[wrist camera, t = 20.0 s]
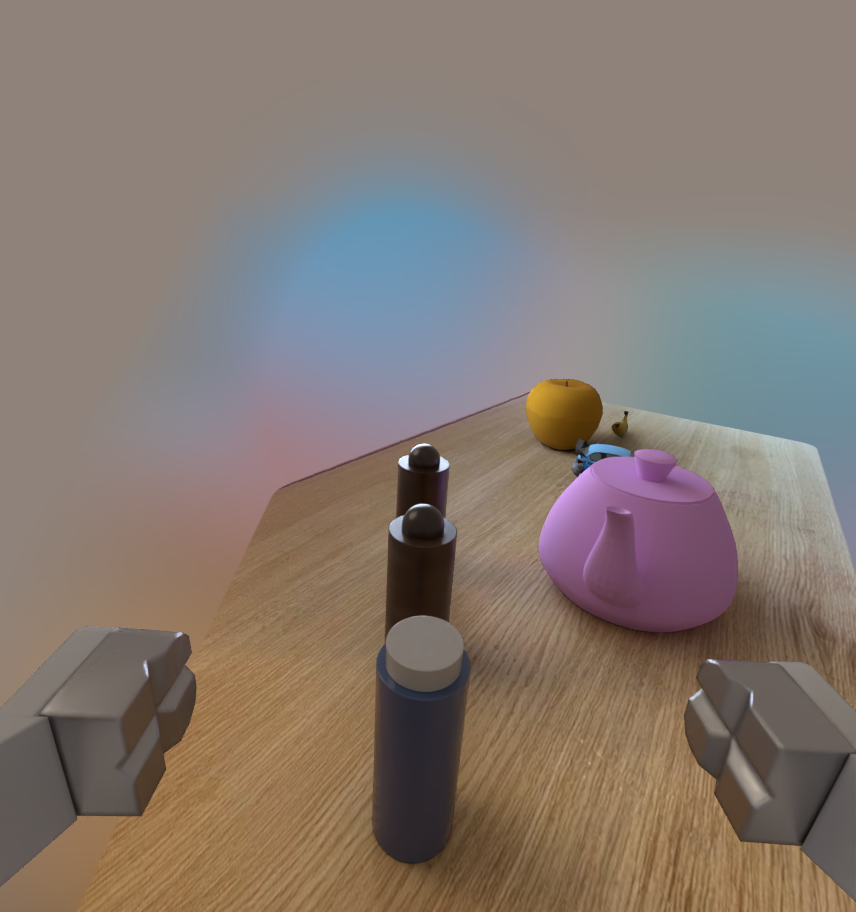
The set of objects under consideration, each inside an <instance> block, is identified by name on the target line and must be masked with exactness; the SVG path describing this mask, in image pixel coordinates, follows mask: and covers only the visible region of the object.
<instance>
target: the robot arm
mask: <svg viewBox="0 0 856 912" xmlns="http://www.w3.org/2000/svg"><path fill="white" fill-rule="evenodd" d="M191 653H192V651H191V645H190V640H189V636H188V635H186V634H184V633H182V632H170V631H157V630H156V631H155V630H144V629H129V628H107V627H95V626H85V627H83V628H80V629H78V630H76V631H75V632H73V633H72V635H71V636H70V637H69V638H68V639H67V640H66V641H65V642H64V643H63V644H62V645H61V646H60V647H59V648H58V649H57V650H56V651H55V652H54V653H53V654H52V655H51V656H50V657H49V658H48V659H47V660H46V661H45V662H44V664H43V665H42V666H41V667H40V668H39V669H38V670H37V671H36V672H35V673H34V674H33V675H32V676H31V677H30V678H29V679H28V680H27V681H26V682H25V683H24V684H23V685H22V686H21V687H20V688H19V689H18V691H16V693H15V694H14V695H13V696H12V697H11V698H10V699H9V700H8V701H7V702H6V703H5V704H4V705H3V706H2V707H1V708H0V887H1V886H2V885H3V884H4V883H5V882H7V881H8V880H9V879H10V878H11V877H12V876H13V875H15V874H16V873H17V872H18V871H19V870H20V869H21V868H22V867H24V866H25V865H26V864H27V863H28V862H29V861H31V860H32V859H33V858H34V857H35V856H36V855H37V854H39V853H40V852H41V851H42V850H43V849H44V848H45V847H46V846H48V845H49V844H50V843H51V842H52V841H53V840H55V839H56V838H57V837H58V836H59V835H60V834H61V833H63V832H64V831H65V830H66V829H67V828H68V827H69V826H71V825H72V824H73V823H74V822H75V821H76V820H77V816H142V815H143V813H144V811H145V809H146V807H147V805H148V803H149V801H150V799H151V797H152V796H153V794H154V792H155V790H156V788H157V786H158V784H159V782H160V780H161V778H162V776H163V774H164V773H165V771H166V766H165V760H164V753H165V752H167V751H168V750H169V749H171V748H172V747H173V746H175V745H176V744H177V743H179V742H180V741H181V740H182V738H183V735H184V733H185V731H186V729H187V727H188V725H189V723H190V720H191V716H192V713H193V709H194V706H195V701H196V679H195V675H194V674H193V672H192V671H191V670H190V669H189V668H188V667H187V666H186V665H185V663H186V662H187V660H188V658H189V656H190V655H191ZM696 679H697V681H698V683H699V685H700V686H701V688H702V689H701V690H700V691H698V692H697V693H696V694H695V695H693V696H692V697H691V698H690V699H689V700H688V703H687V707H686V710H685V714H684V721H685V734H686V737H687V740H688V743H689V746H690V749H691V751H692V753H693V755H694V757H695V759H696V761H697V763H698V765H700V766H701V767H702V768H703V769H704V770H706V771H707V772H708V773H709V774H710V775H712V776H713V777H714V778H715V779H716V785H715V791H714V794H715V796H716V798H717V800H718V802H719V803H720V805H721V807H722V809H723V811H724V813H725V814H726V816H727V818H728V820H729V822H730V824H731V825H732V827H733V829H734V831H735V833H736V834H737V836H738V838H739V840H740V841H741V842H755V843H768V844H782V845H795V846H802V847H801V850H802V851H803V852H804V853H805V854H806V855H807V856H808V857H809V858H810V859H811V860H812V861H813V862H814V863H815V864H816V865H817V866H819V867H820V868H821V869H822V870H823V871H824V872H825V873H826V874H827V875H828V876H829V877H830V878H831V879H832V880H833V881H834V882H835V883H836V884H837V885H839V886H840V887H841V888H842V889H843V890H844V891H845V892H846V893H847V894H848V895H849V896H850V897H851V898H852V899H853V900H854V901H855V902H856V711H855V710H854V709H853V708H852V707H851V706H850V705H849V704H848V702H847V701H846V700H845V699H844V698H843V697H842V696H841V695H840V694H839V693H838V692H837V691H836V690H835V689H834V688H833V687H832V686H831V685H830V684H829V683H828V682H827V681H826V680H825V679H824V678H823V676H822V675H821V674H820V673H819V672H818V671H817V670H816V669H814V668H813V667H811V666H809V665H807V664H806V663H804V662H777V661H771V662H765V661H742V660H719V659H707V660H706V661H705V662H704V663H703V664H702V665H700V668H699V671H698V674H697V676H696Z"/></svg>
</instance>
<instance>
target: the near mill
mask: <svg viewBox="0 0 856 912" xmlns="http://www.w3.org/2000/svg"><path fill="white" fill-rule="evenodd" d="M456 538H457V529H456V527H455V525H454V524H453V523H452V522H450V521H449V520H447V519H445V518H443V516H442V514H441V512H440V511H439V510H438V509H437V508H436V507H434V506H432V505H429V504H417V505H414V506H413V507H411V508H410V509H409V510H408V511H407V512H406V513H405V515H403V516H400V517H398V518H396V519H395V520H393V521H392V522H391V524H390V526H389V536H388V566H387V595H386V624H385V643H386V637H387V634H388V632H389V631H390V629H391V628H392V627H393V626H394V625H395V624H396V623H398V622H400V621H401V620H404V619H406V618H409V617H414V616H432V617H436V618H440V619H442V620H445V621H447V622H449V615H450V604H451V593H452V582H453V571H454V560H455V549H456Z"/></svg>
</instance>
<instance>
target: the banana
mask: <svg viewBox="0 0 856 912" xmlns="http://www.w3.org/2000/svg"><path fill="white" fill-rule="evenodd" d="M624 414H625V417H624V419H623V420H622V421H621V422H616V423H614V424H613V425H612V430H613V432H614V433H615V434H616V435H618V436H622V435H624V434H626V432H627V430H628V424H627V415H628V412H627V411H625V412H624Z"/></svg>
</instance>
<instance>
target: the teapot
mask: <svg viewBox="0 0 856 912" xmlns="http://www.w3.org/2000/svg"><path fill="white" fill-rule="evenodd" d="M677 461H678V460H677V459H676V458H675V457H674V456H672V455H670V454H668V453H666V452H663V451H659V450H653V449H642V450H637V451H635V457H609V458H605V459H601V460H599V461H597V462H595V463H594V464H592V465H591V466H590V467H589V468H587V469H586V470H585V471H584V472H583V473H582V474H581V475H580V476H579V477H578V478H577V479H576V480H575V481H574V482H573V483H572V484H571V485H570V486H569V487H568V488H567V489H566V490H565V491H564V492H563V493H562V495H561V496H560V497H559V498H558V500H557V501H556V502H555V504H554V506H553V507H552V509H551V510H550V512H549V514H548V516H547V518H546V521H545V523H544V526H543V529H542V531H541V535H540V539H539V547H538V548H539V554H540V559H541V561H542V564H543V566H544V568H545V569H546V571H547V573H548V574H549V576H550V577H551V579H552V580H553V581H554V583H555V584H556V585H557V586H558V588H559V589H560V590H561V591H562V592H563V594H565V595H566V596H567V597H568V598H569V599H570V600H571V601H572V602H574V603H575V604H576V605H578V606H579V607H581V608H582V609H584V610H585V611H587V612H589V613H591V614H593V615H595V616H597V617H599V618H601V619H603V620H606V621H608V622H611V623H614V624H617V625H620V626H623V627H627V628H630V629H635V630H640V631H647V632H661V633H665V632H676V631H682V630H685V629H690V628H693V627H696V626H699V625H702V624H705V623H707V622H710V621H712V620H714V619H716V618H718V617H719V616H720V615H721V614H722V613H724V612H725V611H726V610H727V609H728V607H729V606H730V604H731V603H732V600H733V597H734V593H735V590H736V586H737V576H738V560H737V550H736V544H735V540H734V537H733V533H732V530H731V527H730V524H729V522H728V519H727V516H726V514H725V511H724V509H723V506H722V504H721V501H720V499H719V497H718V496H717V494H716V492H715V490H714V488H713V487H712V486H711V485H710V484H709V483H708V482H707V481H706V480H705V479H704V478H702V477H701V476H699V475H697V474H695V473H693V472H691V471H689V470H686V469H684V468H681V467H678V466H677V464H676V463H677Z"/></svg>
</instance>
